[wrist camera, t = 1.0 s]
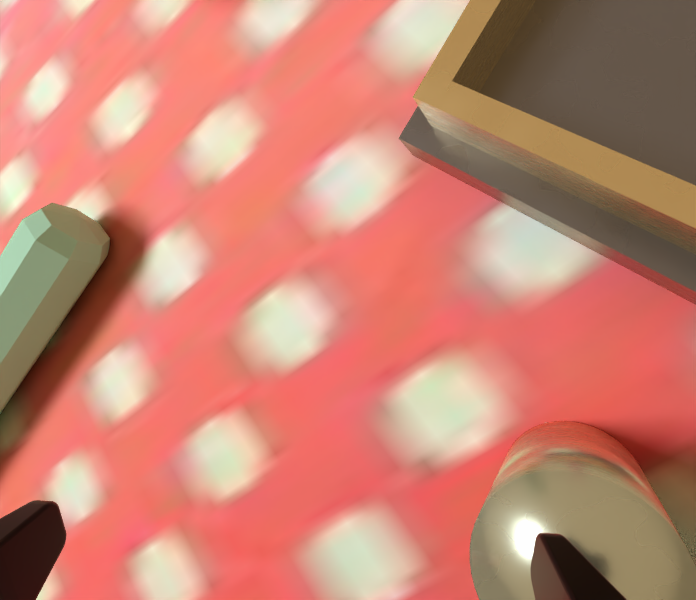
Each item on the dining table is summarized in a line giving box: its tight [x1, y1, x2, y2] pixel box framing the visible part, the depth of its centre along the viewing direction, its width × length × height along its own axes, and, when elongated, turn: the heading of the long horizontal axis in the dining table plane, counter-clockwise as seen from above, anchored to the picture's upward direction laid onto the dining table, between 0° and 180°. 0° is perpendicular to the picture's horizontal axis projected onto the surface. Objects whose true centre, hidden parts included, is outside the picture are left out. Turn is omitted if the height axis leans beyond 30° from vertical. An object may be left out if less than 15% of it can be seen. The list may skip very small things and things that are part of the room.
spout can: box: [470, 421, 696, 600], centre depth 14 cm, size 5×6×7 cm
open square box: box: [399, 0, 696, 304], centre depth 15 cm, size 14×14×4 cm
